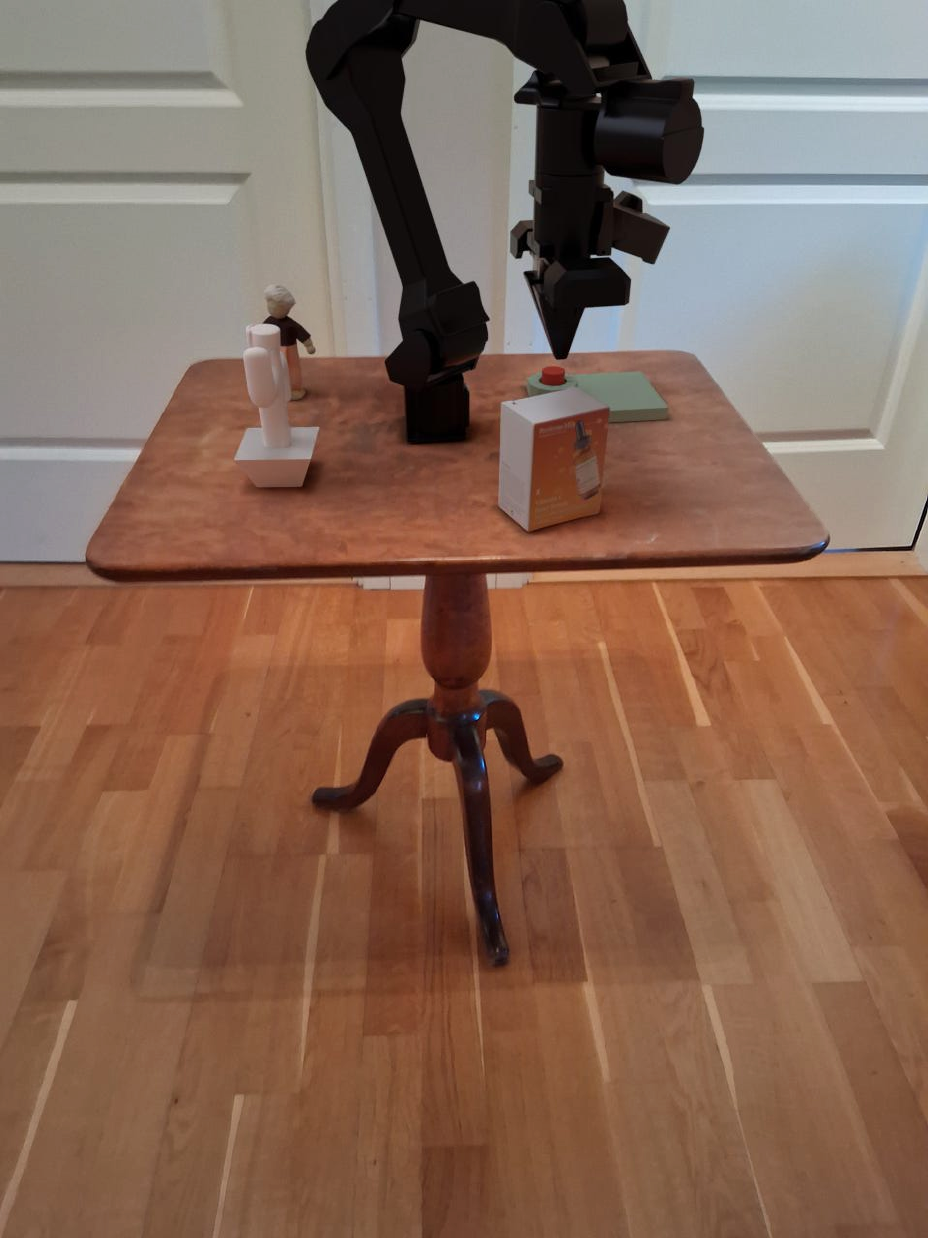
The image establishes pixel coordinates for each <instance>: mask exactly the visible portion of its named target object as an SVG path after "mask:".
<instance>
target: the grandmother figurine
mask: <svg viewBox="0 0 928 1238" xmlns="http://www.w3.org/2000/svg"><path fill="white" fill-rule="evenodd" d="M263 295H264V300H265V302H266V310H267V312H268V314H269V316H268V317H267V318H265V320H263V322H262V323H261V324H272V325H275V326H277V327H279V328H280V351H281V352H282V353H283V354H284V356H285V357H286V360H287V364H288V369H289V378H290V386H291V400H290V401H298V400H301V399H303V397H304V396H305V395H306V391H305V389H304V388H303V381H302V380H303V379H302V366H301V365H302V364H301V359H300V354H299V349H298V342H300V343H301V344H302V345H303V346H304V347H305V348H306V352H307V354H308V355H314V354H315V353H316V351H317V349H316V347H315V346H314V343H313V340H312V338H311V337H312V335H311V334H310V332H308V330H307V329H306V328H305V327H303V325H301V323H299V322H298V321H296V320H295V319H293V318H291V316H289V314H290V312H291V309H293V307H294V306H295V305H297V302H296V299H295V298H294V296H293V294H292V292H290V290H288V289H287V288H286V287H285V286H284V285H281V284H271V285H268V286H267V287H266V288H265V289H264V294H263Z"/></svg>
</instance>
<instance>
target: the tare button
mask: <svg viewBox="0 0 928 1238" xmlns="http://www.w3.org/2000/svg"><path fill="white" fill-rule="evenodd" d="M541 372H542V380H541V383H542V384H544V385H549V386H560V385H563V384H564V381H565V373H566V369H565V368H564V367H560V366H556V365H550V366H544V367H543V368H542V369H541Z"/></svg>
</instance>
